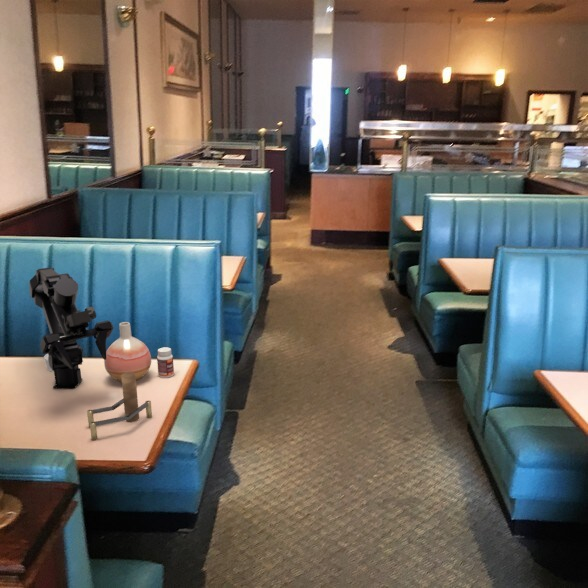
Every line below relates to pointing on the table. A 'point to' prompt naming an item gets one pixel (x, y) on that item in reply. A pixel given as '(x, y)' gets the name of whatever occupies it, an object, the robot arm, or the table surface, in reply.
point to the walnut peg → (130, 394)
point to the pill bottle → (165, 362)
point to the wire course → (93, 424)
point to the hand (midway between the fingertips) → (89, 363)
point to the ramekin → (47, 362)
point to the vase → (127, 355)
